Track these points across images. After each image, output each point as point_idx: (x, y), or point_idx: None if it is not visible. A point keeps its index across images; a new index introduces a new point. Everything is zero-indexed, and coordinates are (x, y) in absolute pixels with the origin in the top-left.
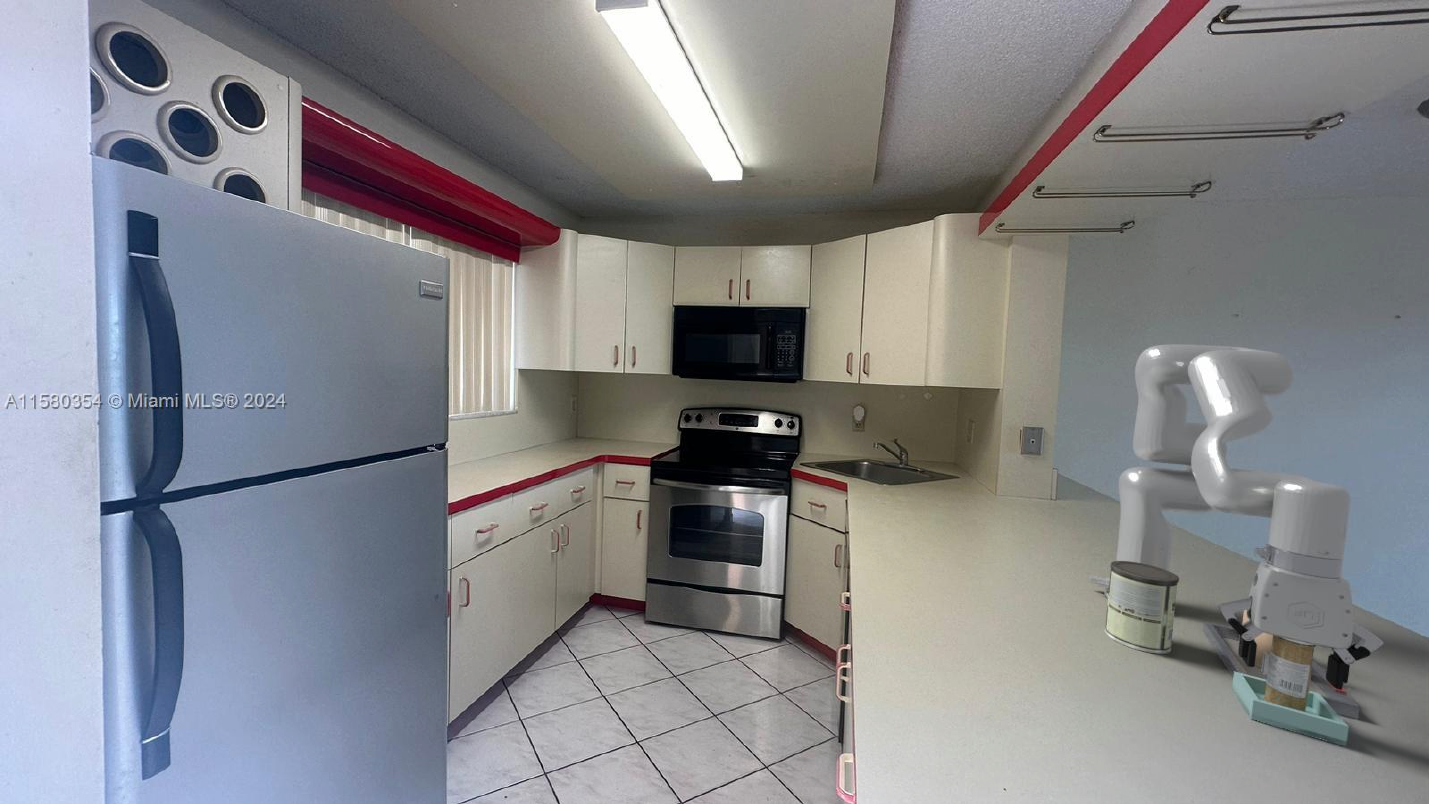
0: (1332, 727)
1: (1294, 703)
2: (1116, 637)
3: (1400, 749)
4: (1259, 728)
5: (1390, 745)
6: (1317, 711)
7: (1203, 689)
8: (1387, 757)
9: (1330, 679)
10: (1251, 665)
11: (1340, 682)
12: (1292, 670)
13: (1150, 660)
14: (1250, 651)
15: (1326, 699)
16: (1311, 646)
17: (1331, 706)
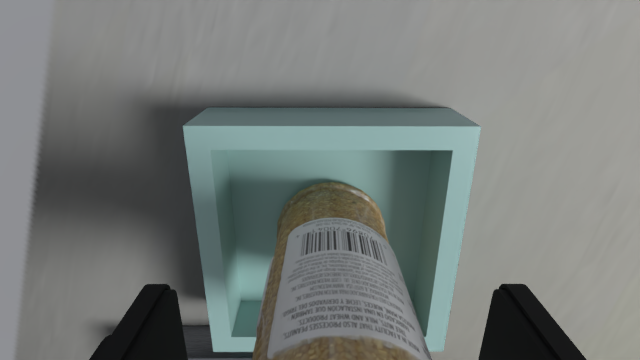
0: (233, 121)
1: (323, 205)
2: None
3: (68, 209)
4: (447, 50)
5: (88, 217)
6: (236, 270)
7: (522, 243)
8: (109, 122)
9: (175, 346)
10: (516, 286)
11: (139, 311)
12: (355, 296)
13: (610, 346)
14: (579, 355)
15: (193, 355)
16: None
17: (186, 340)
